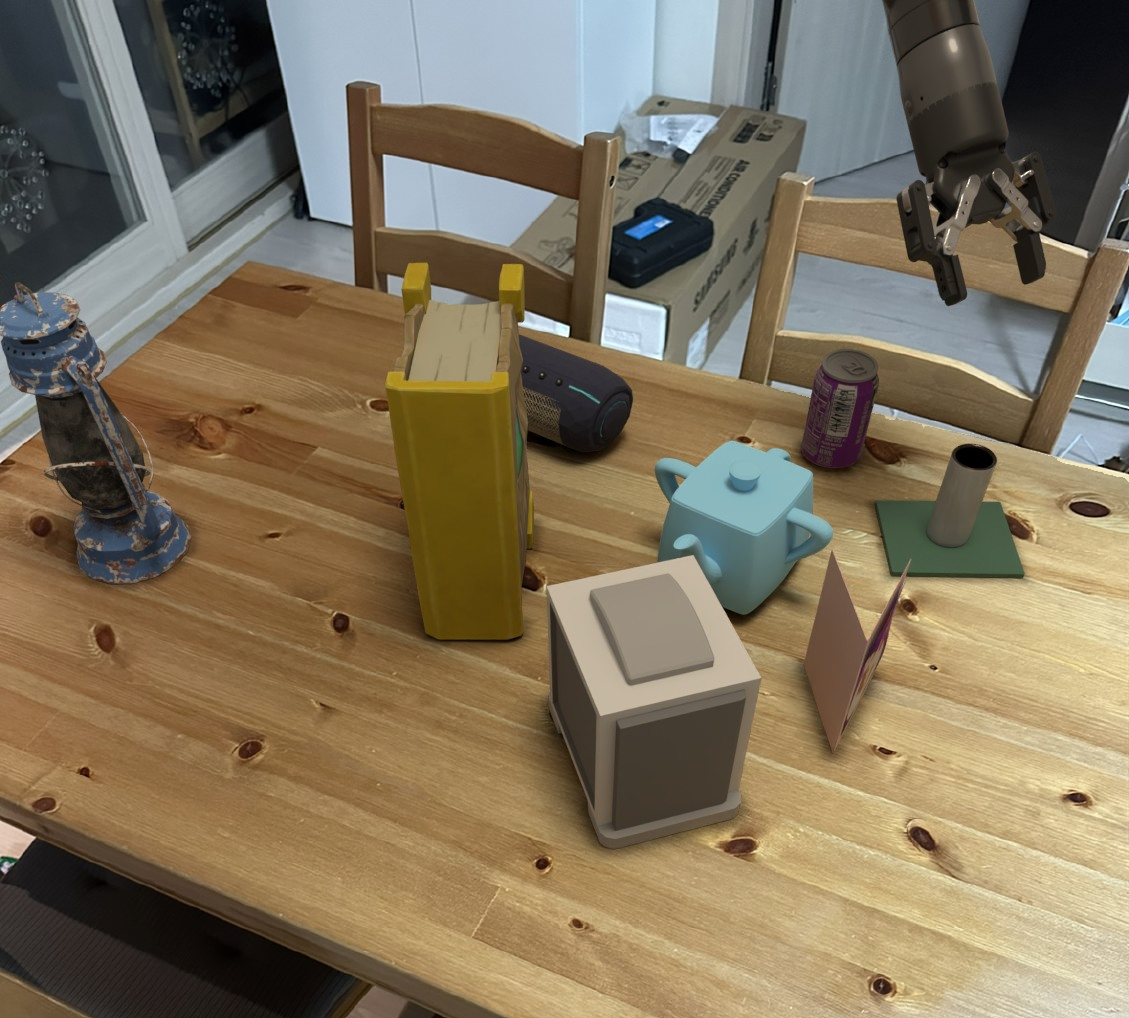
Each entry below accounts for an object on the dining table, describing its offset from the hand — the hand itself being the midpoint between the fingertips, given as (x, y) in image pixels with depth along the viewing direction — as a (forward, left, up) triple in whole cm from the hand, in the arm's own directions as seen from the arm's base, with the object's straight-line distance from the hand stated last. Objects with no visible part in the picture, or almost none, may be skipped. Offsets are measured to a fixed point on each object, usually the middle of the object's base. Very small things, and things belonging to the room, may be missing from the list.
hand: (996, 291), depth 94 cm
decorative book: (+48, +7, -29) cm, 56 cm away
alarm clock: (+31, +31, -29) cm, 52 cm away
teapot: (+22, +7, -29) cm, 37 cm away
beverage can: (+8, -15, -29) cm, 33 cm away
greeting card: (+13, +24, -29) cm, 39 cm away
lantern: (+87, +3, -29) cm, 91 cm away
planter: (-3, 0, -28) cm, 28 cm away
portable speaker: (+44, -21, -29) cm, 56 cm away
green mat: (-3, 0, -29) cm, 29 cm away
